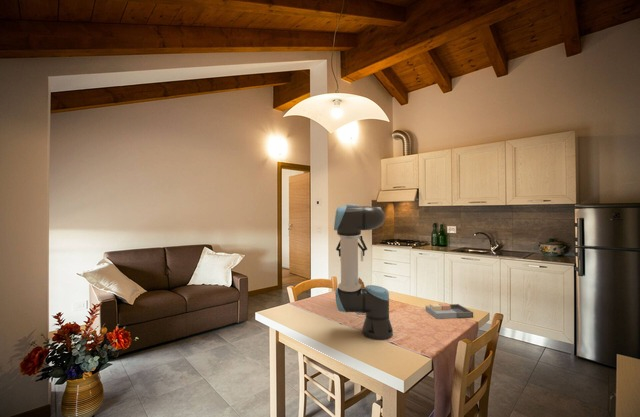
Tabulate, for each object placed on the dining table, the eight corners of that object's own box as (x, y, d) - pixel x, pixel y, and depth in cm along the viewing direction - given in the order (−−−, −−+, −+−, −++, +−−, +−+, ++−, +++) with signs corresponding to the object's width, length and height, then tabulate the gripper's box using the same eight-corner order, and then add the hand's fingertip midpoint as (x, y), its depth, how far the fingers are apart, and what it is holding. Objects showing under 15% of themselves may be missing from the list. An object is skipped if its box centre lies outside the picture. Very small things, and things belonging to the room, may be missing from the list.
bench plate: (456, 317, 172) (456, 312, 172) (436, 318, 171) (436, 313, 171) (444, 309, 186) (444, 304, 186) (425, 310, 185) (425, 305, 185)
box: (473, 317, 172) (473, 312, 172) (457, 318, 171) (457, 312, 171) (458, 308, 187) (458, 304, 187) (443, 309, 186) (443, 304, 186)
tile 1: (441, 310, 176) (441, 306, 176) (433, 310, 175) (433, 306, 175) (437, 307, 181) (437, 303, 181) (429, 308, 180) (429, 303, 180)
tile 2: (450, 310, 176) (450, 305, 176) (442, 310, 176) (442, 306, 176) (446, 307, 181) (446, 303, 181) (438, 307, 181) (438, 303, 181)
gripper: (368, 227, 200) (368, 260, 200) (331, 228, 197) (331, 261, 196) (371, 228, 193) (372, 261, 192) (333, 228, 189) (333, 262, 189)
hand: (351, 261), depth 194 cm, fingers open, 13 cm apart
